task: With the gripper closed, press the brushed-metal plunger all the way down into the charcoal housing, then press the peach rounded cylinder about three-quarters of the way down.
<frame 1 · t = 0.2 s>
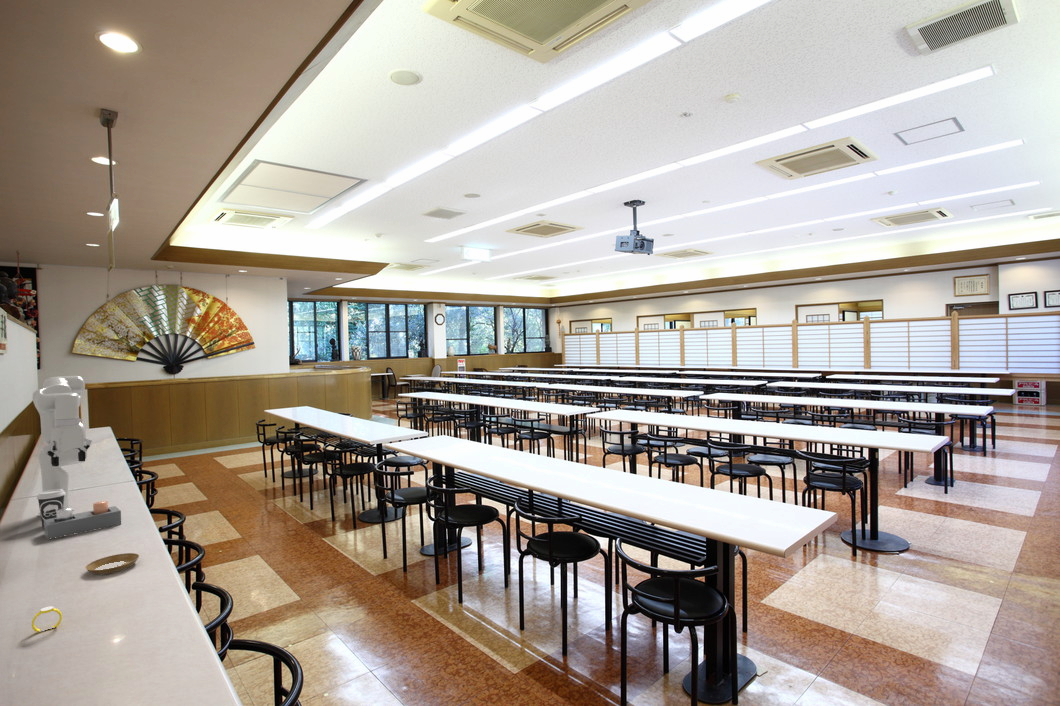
hand: (69, 463, 220), 30 cm above the table, tool pointing down, fingers open, 9 cm apart
metal plunger: (64, 515, 221), point 7 cm above the table, slide at 0.0 cm
peach rounded cylinder: (100, 508, 230), point 7 cm above the table, slide at 0.0 cm
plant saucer: (113, 569, 184), on the table
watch: (47, 630, 143), on the table
plunger housing: (83, 529, 226), on the table
coffee cup: (52, 525, 233), on the table
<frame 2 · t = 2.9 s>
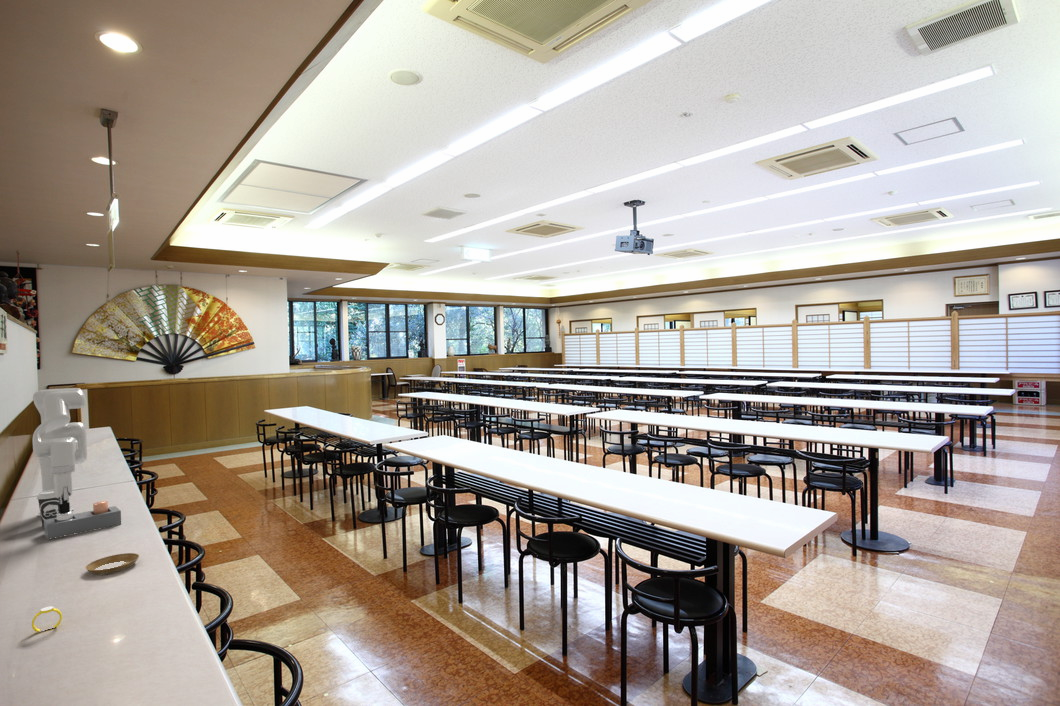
hand: (64, 512, 221), 9 cm above the table, tool pointing down, fingers closed
metal plunger: (64, 519, 221), point 6 cm above the table, slide at 1.3 cm, touching gripper
everything else where it was.
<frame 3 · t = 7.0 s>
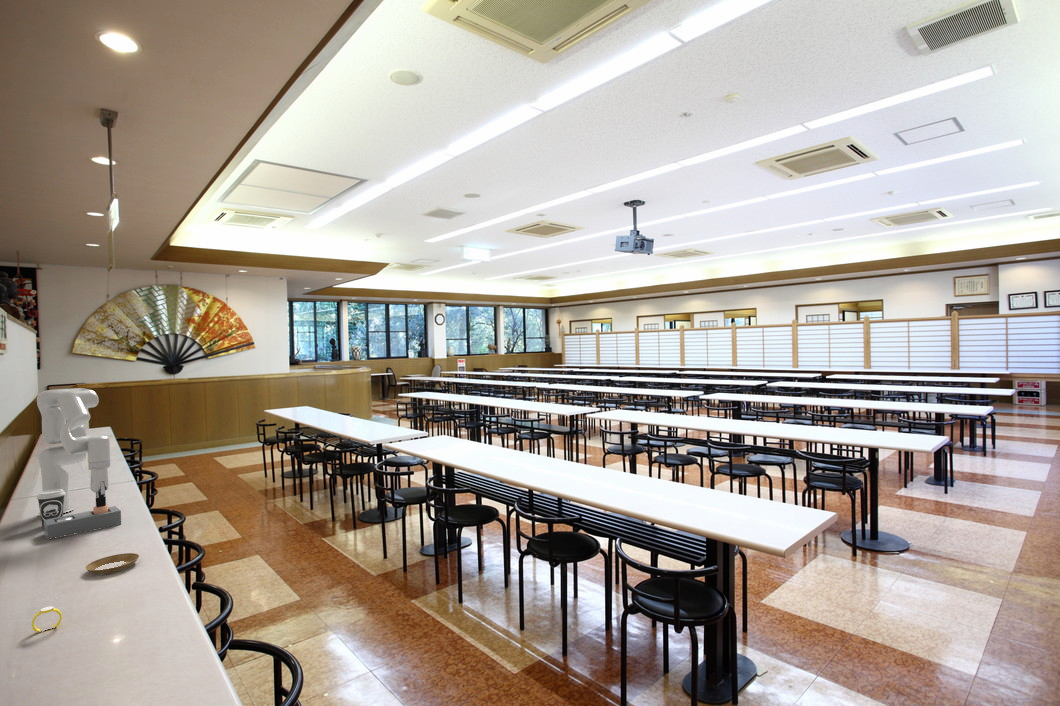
hand: (100, 506, 230), 8 cm above the table, tool pointing down, fingers closed
metal plunger: (64, 525, 221), point 3 cm above the table, slide at 4.1 cm
peach rounded cylinder: (100, 512, 230), point 6 cm above the table, slide at 1.6 cm, touching gripper
everything else where it was.
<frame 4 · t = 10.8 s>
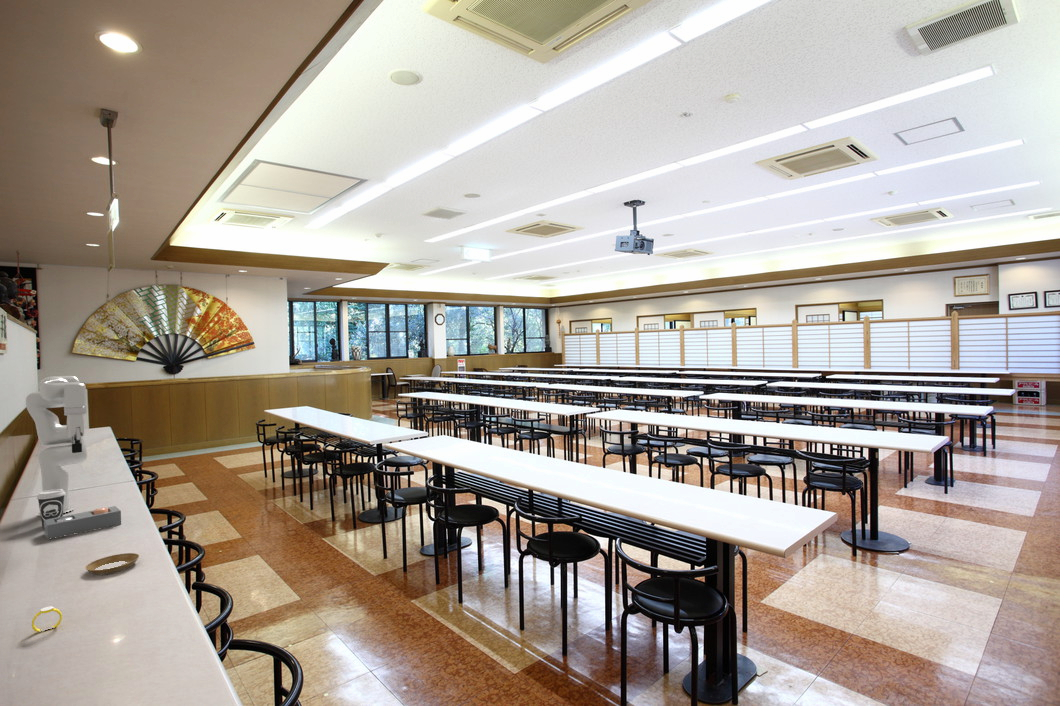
hand: (77, 452, 232), 32 cm above the table, tool pointing down, fingers closed
peach rounded cylinder: (101, 515, 230), point 4 cm above the table, slide at 3.0 cm
everything else where it was.
at the end: metal plunger slide at 4.1 cm; peach rounded cylinder slide at 3.0 cm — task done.
